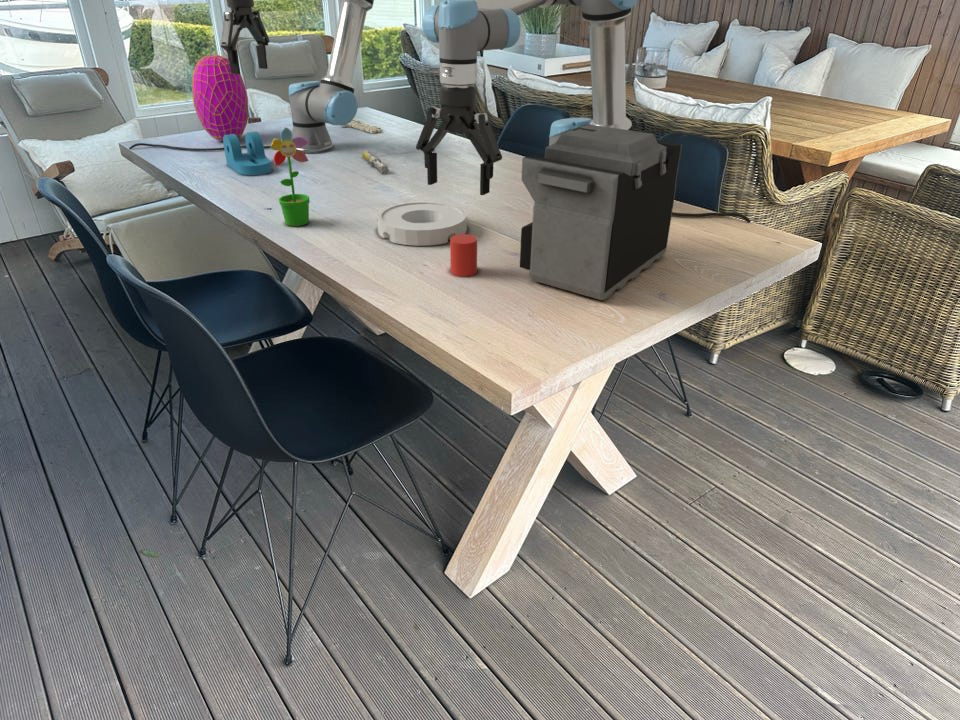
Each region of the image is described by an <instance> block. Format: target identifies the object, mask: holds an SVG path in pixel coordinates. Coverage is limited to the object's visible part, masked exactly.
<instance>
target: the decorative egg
mask: <svg viewBox="0 0 960 720" xmlns="http://www.w3.org/2000/svg"><path fill="white" fill-rule="evenodd" d="M191 91H192V93H191V94H192V102H193V106H194V110H195V112H196V115H197V118H198V119H199V122H200V125H202V128H203V129H204V130H205V132H206V133H207V134H208V135H209V137H212V139H214V140H216V141H220V142H223V137H224V135H230V134H235V135H236V136H237V138H238V139H240V138H241V137H242V135H243V134H244V132H245V129H246V127H247V124H248V120H249V98H248V97H249V96H248V91H247V88H246V84H245V82H244V79H243V76H242V74H241V73H240V74H231V69H230V62H229V60H228V57H225V56H223V55H220V54H207V55H205V56H203V57H201V58H199V60H197V62H196V65H195V67H194V69H193V72H192V78H191Z"/></svg>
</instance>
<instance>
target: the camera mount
mask: <svg viewBox="0 0 960 720" xmlns="http://www.w3.org/2000/svg"><path fill="white" fill-rule="evenodd" d="M222 143H223V148H224V150H223V151H224V156H225V161H226V165H227V166H228V167H230V168H231V169H232V170H234V171H236V172H237V173H238V174H239V175H244V176H260V175H265V174H268V173H271V172H272V164H271V159H270V158H268V157H267V156H266V153H265V148H264V146H265V145H264V141H263V139H262V136H261V134H260V132H258V131H247V132H246V133H245V146H246V147H247V148H246V152H243V151H242V150H243V149H242V148H241V146H242V145H241V142H240V140H239V138H237V136H236V135H235V134H230V135H224V137H223V141H222Z"/></svg>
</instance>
